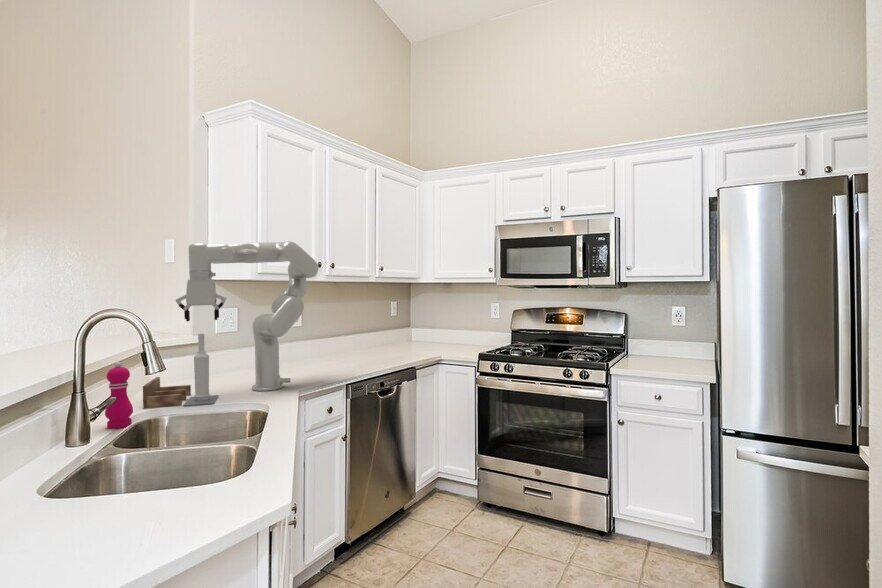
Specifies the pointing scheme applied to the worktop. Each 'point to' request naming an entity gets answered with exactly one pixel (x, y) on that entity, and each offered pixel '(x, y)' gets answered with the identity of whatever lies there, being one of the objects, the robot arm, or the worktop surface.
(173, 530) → the worktop surface
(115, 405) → the pepper mill
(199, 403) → the rubber mat
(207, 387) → the bottle
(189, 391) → the lane rack
